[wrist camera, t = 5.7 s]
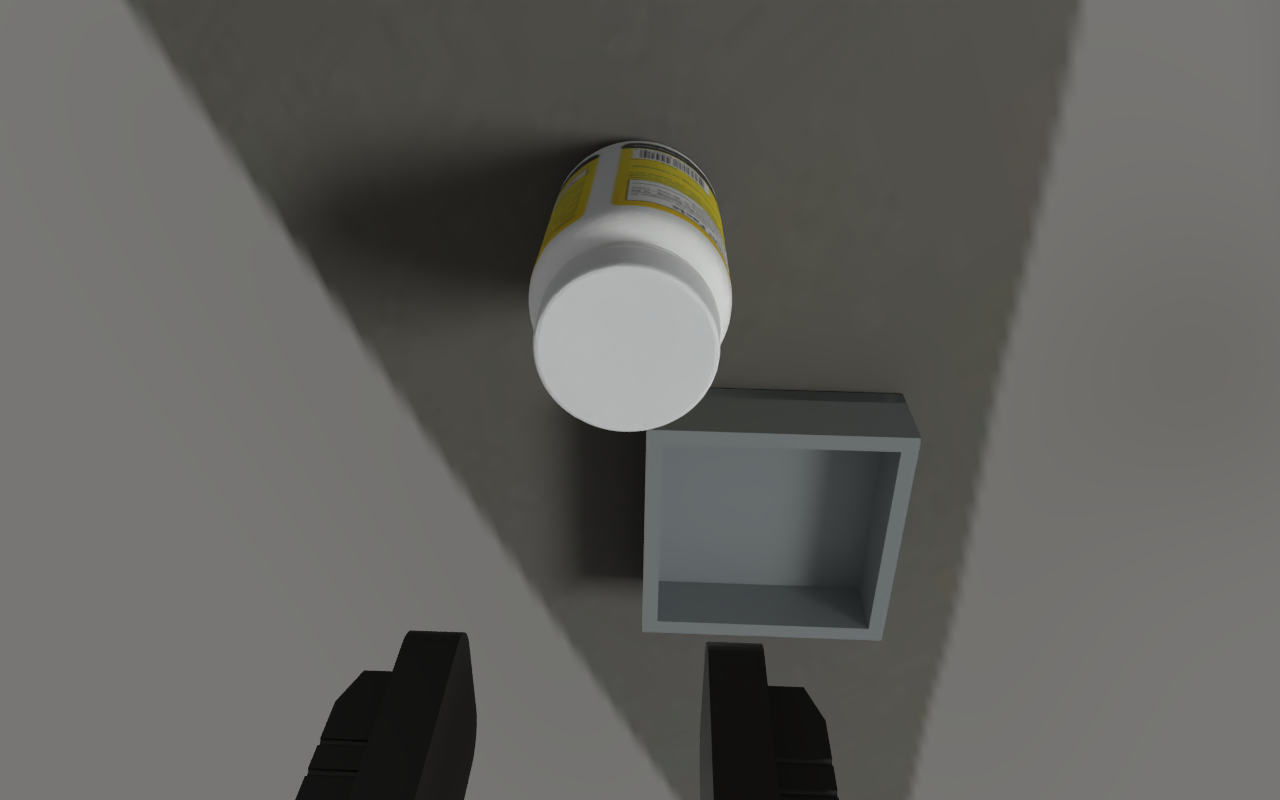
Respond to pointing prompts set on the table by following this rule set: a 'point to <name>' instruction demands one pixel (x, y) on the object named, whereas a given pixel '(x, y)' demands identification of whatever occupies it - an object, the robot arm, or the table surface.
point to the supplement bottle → (631, 289)
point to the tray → (777, 513)
